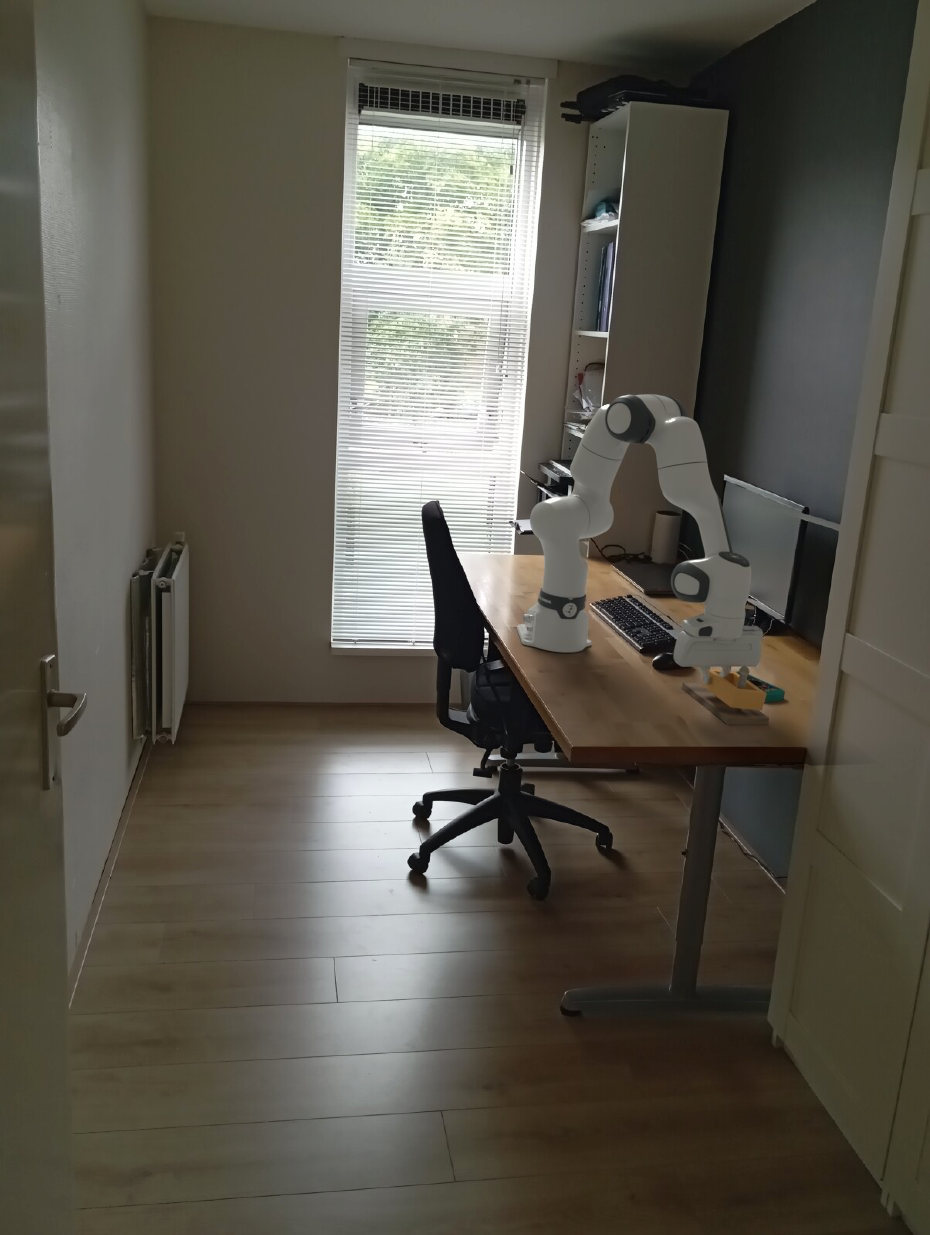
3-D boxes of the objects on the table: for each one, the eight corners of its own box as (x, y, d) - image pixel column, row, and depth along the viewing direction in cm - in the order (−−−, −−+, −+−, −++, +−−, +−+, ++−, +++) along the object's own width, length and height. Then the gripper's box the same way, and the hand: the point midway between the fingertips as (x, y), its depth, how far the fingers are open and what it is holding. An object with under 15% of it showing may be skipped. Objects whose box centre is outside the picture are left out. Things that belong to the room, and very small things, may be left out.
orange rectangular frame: (701, 684, 234) (705, 668, 233) (730, 687, 236) (735, 671, 235) (731, 707, 221) (735, 690, 220) (761, 710, 223) (766, 693, 222)
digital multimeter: (764, 705, 236) (766, 693, 235) (718, 683, 248) (720, 672, 247) (785, 701, 240) (788, 690, 239) (739, 680, 252) (741, 669, 251)
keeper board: (681, 688, 241) (689, 641, 237) (719, 688, 243) (727, 642, 240) (727, 724, 220) (736, 674, 217) (768, 724, 223) (777, 674, 220)
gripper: (756, 621, 232) (746, 678, 236) (675, 620, 227) (666, 679, 231) (771, 630, 226) (760, 688, 230) (688, 629, 221) (678, 689, 225)
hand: (712, 683), depth 230 cm, fingers closed on orange rectangular frame, 2 cm apart
